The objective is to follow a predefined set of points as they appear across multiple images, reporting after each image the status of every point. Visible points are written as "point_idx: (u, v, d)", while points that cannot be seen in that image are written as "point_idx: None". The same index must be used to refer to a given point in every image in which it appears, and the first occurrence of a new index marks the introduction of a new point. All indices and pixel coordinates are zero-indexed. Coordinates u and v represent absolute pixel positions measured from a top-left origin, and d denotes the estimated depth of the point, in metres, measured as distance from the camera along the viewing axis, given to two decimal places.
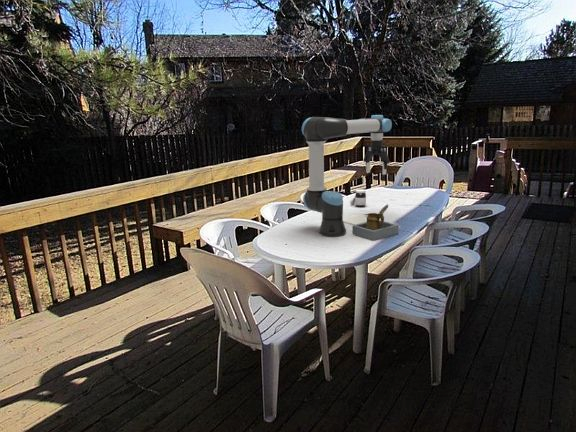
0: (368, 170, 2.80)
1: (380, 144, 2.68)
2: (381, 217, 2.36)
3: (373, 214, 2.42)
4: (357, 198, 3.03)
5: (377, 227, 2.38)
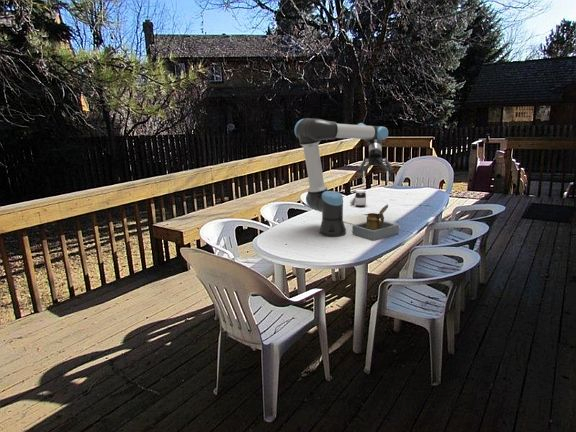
0: None
1: (381, 155, 2.55)
2: (381, 217, 2.36)
3: (373, 214, 2.42)
4: (357, 198, 3.03)
5: (377, 227, 2.38)
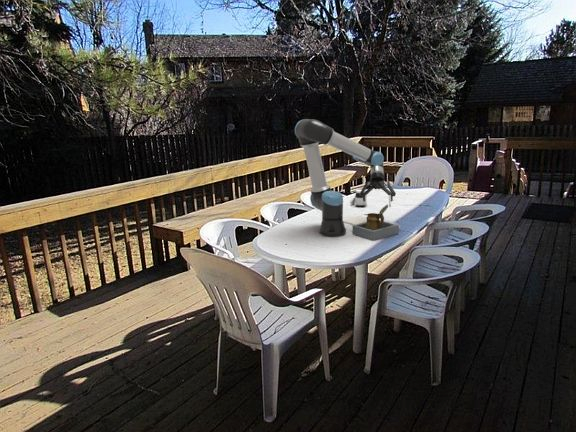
0: None
1: (383, 178, 2.51)
2: (381, 217, 2.36)
3: (373, 214, 2.42)
4: (357, 198, 3.03)
5: (377, 227, 2.38)
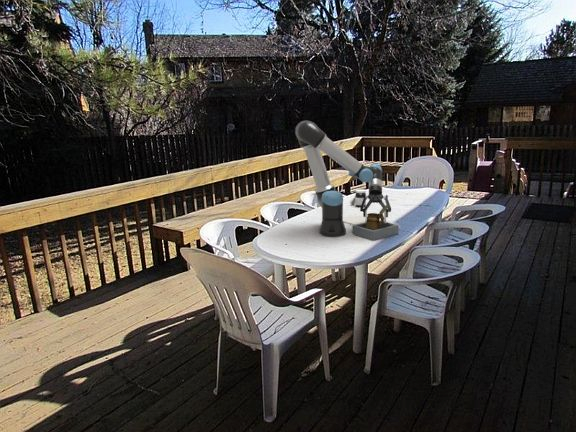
0: (366, 219, 2.37)
1: None
2: (381, 217, 2.36)
3: (373, 214, 2.42)
4: (357, 198, 3.03)
5: (377, 227, 2.38)
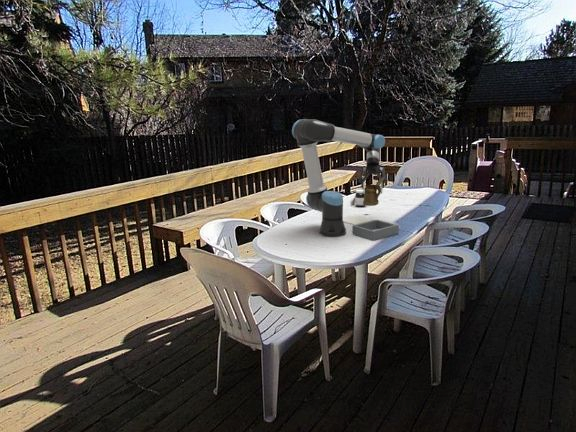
0: (364, 190, 2.50)
1: None
2: (378, 188, 2.48)
3: (371, 185, 2.53)
4: (357, 198, 3.03)
5: (374, 198, 2.50)
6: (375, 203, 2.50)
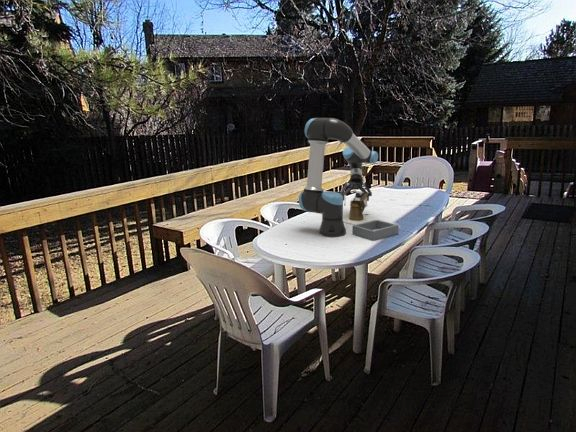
0: (345, 202, 2.68)
1: (361, 179, 2.74)
2: (362, 204, 2.65)
3: (356, 201, 2.71)
4: (357, 198, 3.03)
5: (359, 213, 2.67)
6: (359, 218, 2.67)
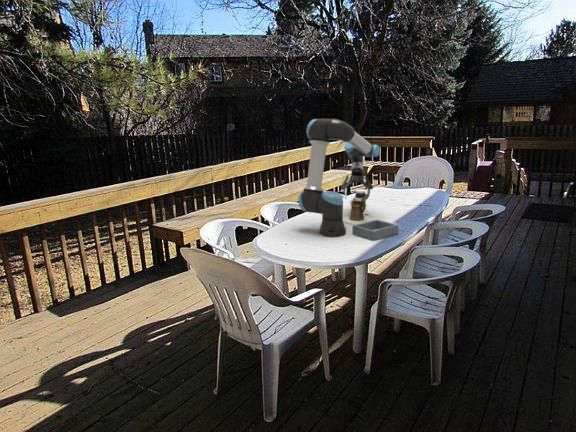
0: None
1: (362, 173, 2.78)
2: (363, 204, 2.65)
3: (357, 202, 2.71)
4: (357, 198, 3.03)
5: (360, 213, 2.67)
6: (360, 218, 2.67)
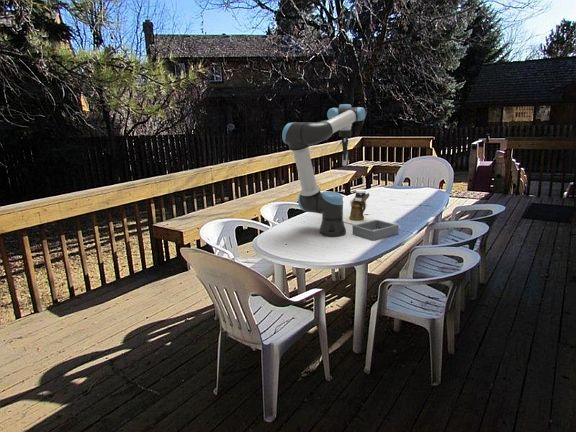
0: None
1: (343, 134, 2.63)
2: (363, 204, 2.65)
3: (357, 202, 2.71)
4: (357, 198, 3.03)
5: (360, 213, 2.67)
6: (360, 218, 2.67)
